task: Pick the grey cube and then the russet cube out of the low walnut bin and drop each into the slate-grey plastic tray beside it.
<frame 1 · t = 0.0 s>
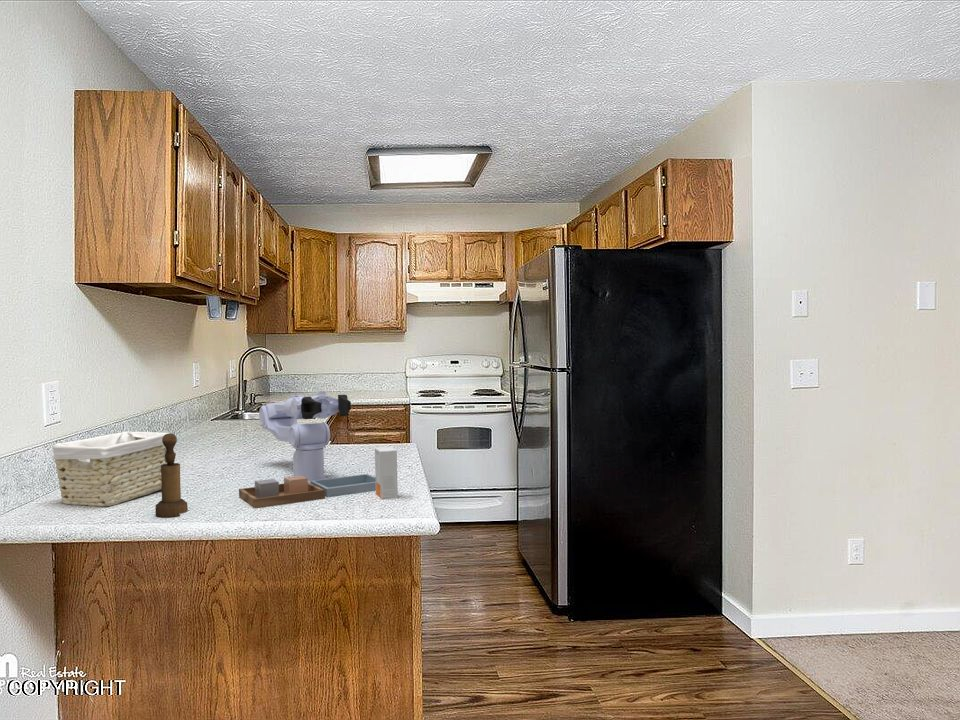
hand: (334, 406, 180), 22 cm above the counter, tool horizontal, fingers open, 7 cm apart
russet cube: (296, 495, 176), resting on walnut bin
slate tray: (348, 490, 183), on the counter
walnut bin: (281, 499, 174), on the counter
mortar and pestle: (171, 514, 162), on the counter
grey cube: (267, 499, 172), resting on walnut bin
skincare box: (386, 498, 175), on the counter
storage basket: (117, 497, 181), on the counter
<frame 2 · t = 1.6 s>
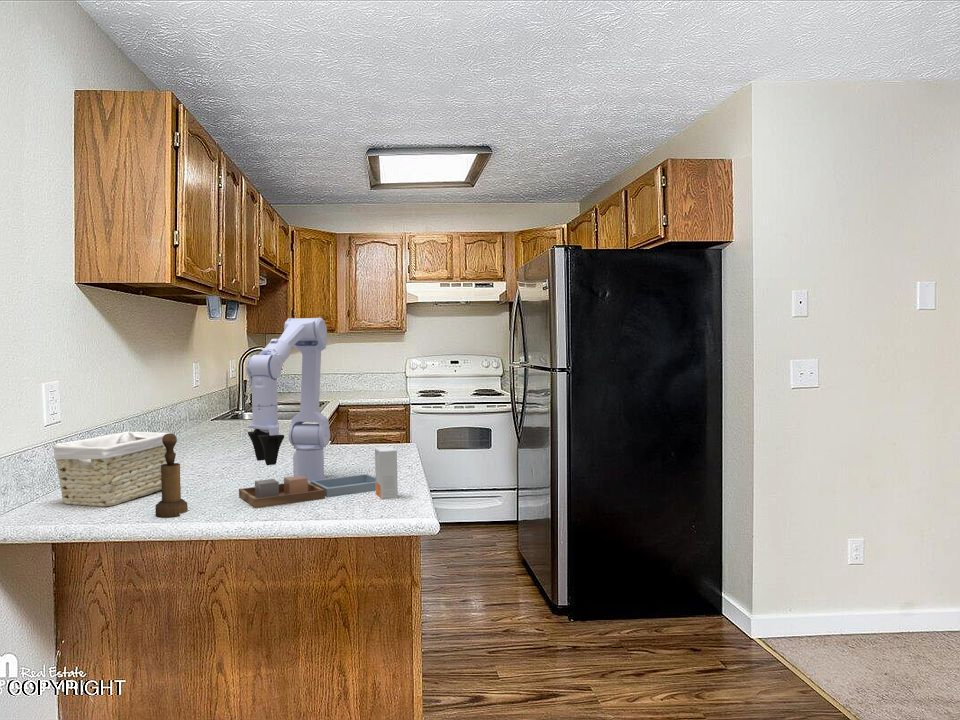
hand: (266, 462, 172), 9 cm above the counter, tool pointing down, fingers open, 7 cm apart
nothing on the counter moved.
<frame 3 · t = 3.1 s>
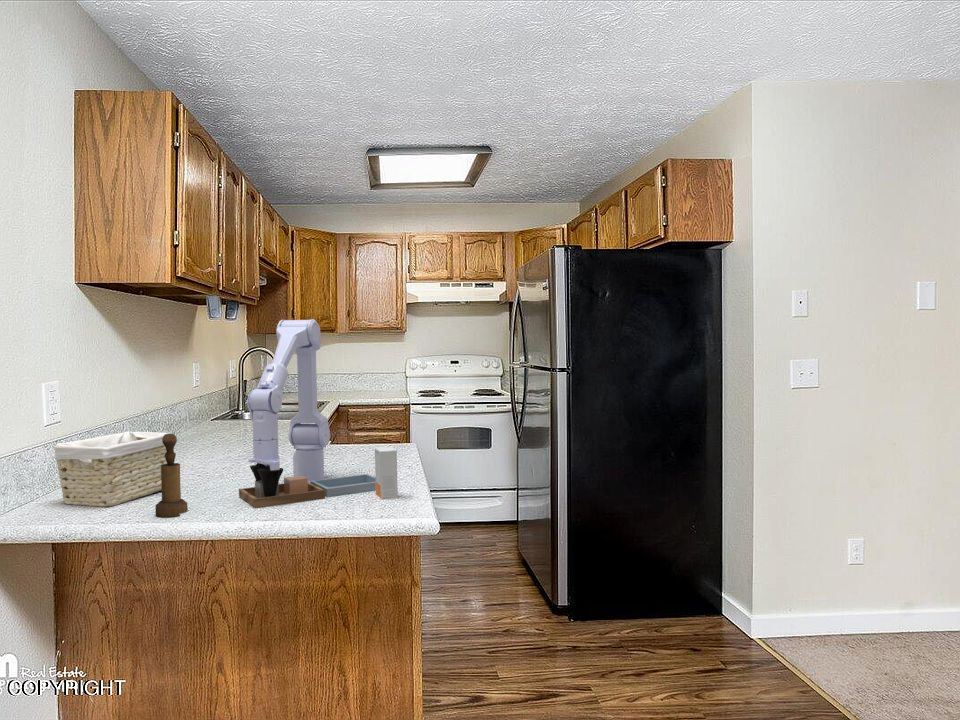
hand: (267, 496, 172), 1 cm above the counter, tool pointing down, fingers closed on grey cube, 4 cm apart
grey cube: (267, 499, 172), resting on walnut bin, touching gripper
everything else where it was.
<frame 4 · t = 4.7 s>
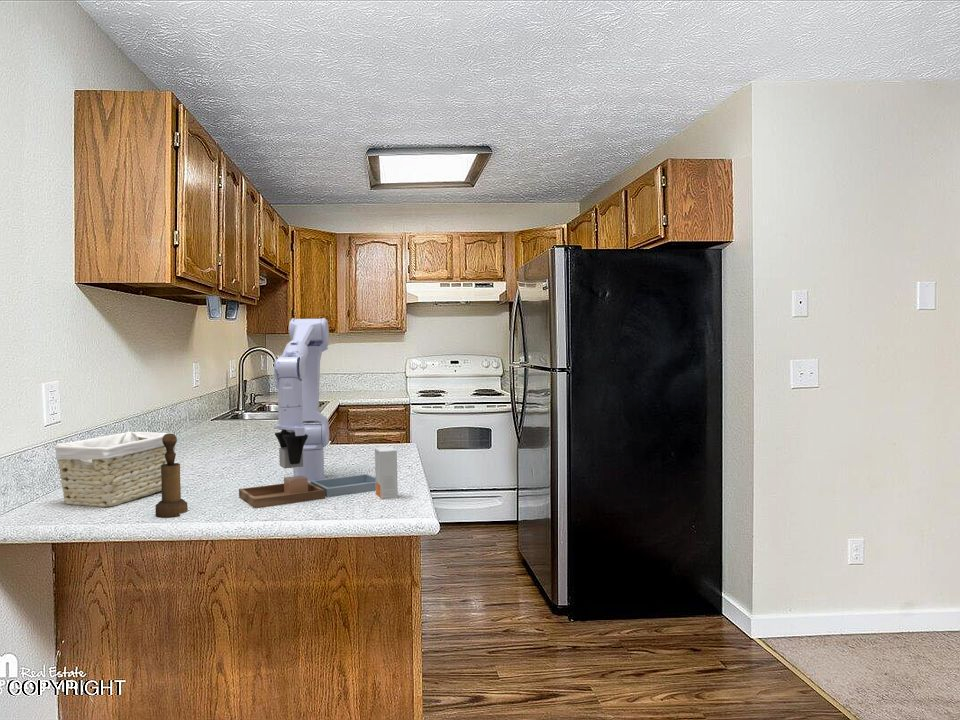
hand: (291, 462, 175), 9 cm above the counter, tool pointing down, fingers closed on grey cube, 4 cm apart
grey cube: (291, 466, 175), point 8 cm above the counter, touching gripper
when the fingers open (4 cm above the counter, at t = 6.5 s): grey cube drops 2 cm, resting on slate tray.
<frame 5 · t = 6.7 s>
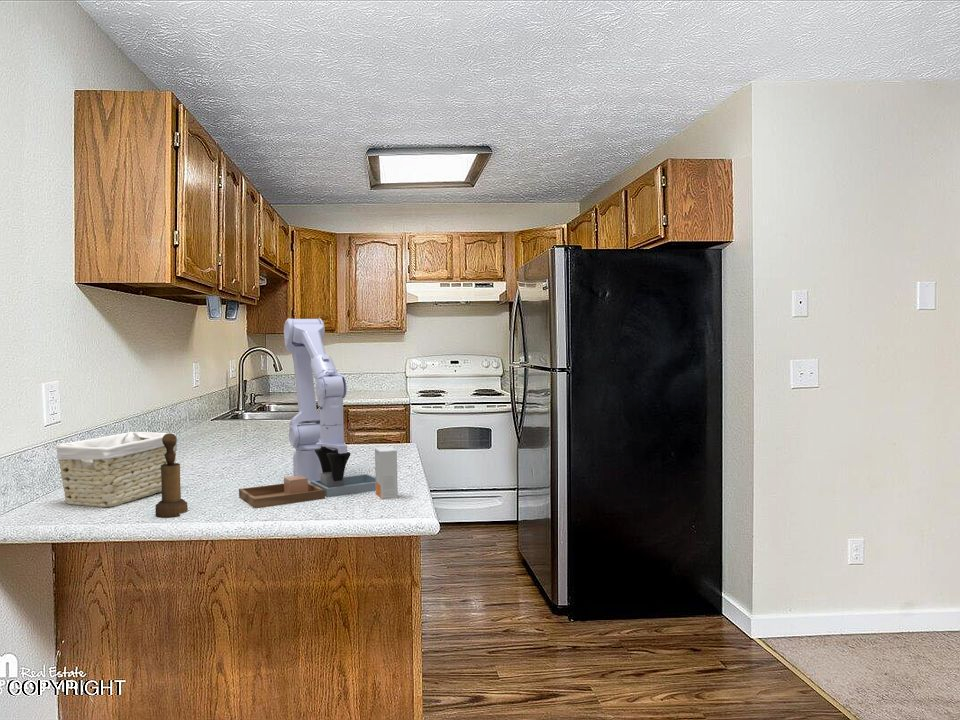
hand: (332, 478, 181), 4 cm above the counter, tool pointing down, fingers open, 6 cm apart
grey cube: (332, 491, 181), resting on slate tray
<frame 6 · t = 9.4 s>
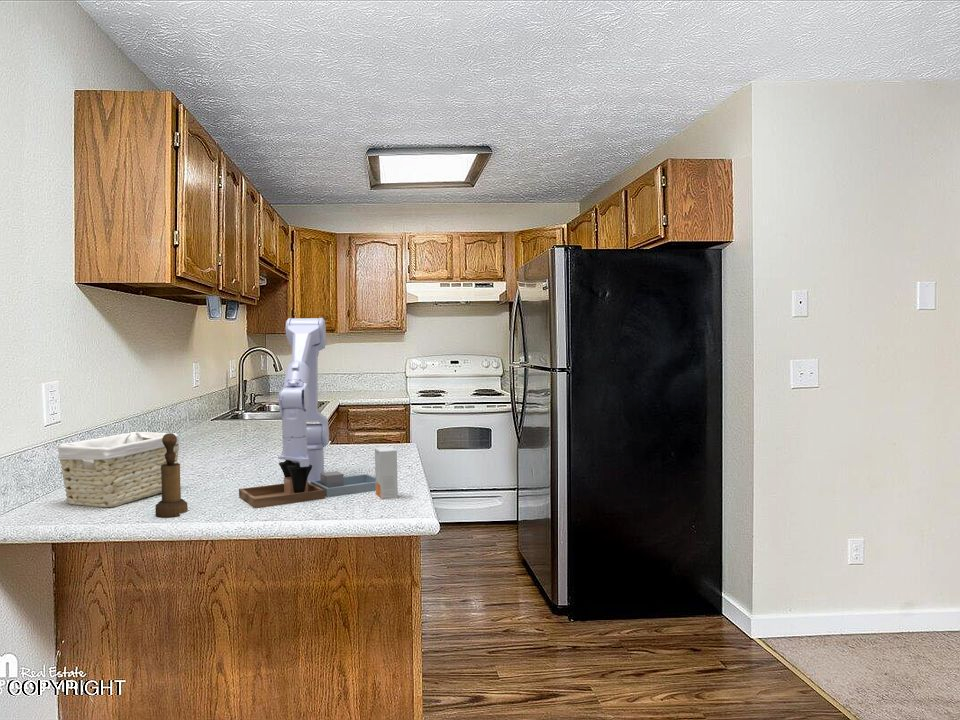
hand: (295, 492, 176), 1 cm above the counter, tool pointing down, fingers closed on russet cube, 4 cm apart
russet cube: (296, 495, 176), resting on walnut bin, touching gripper
when the fingers open (4 cm above the counter, at t = 12.9 s): russet cube drops 2 cm, resting on slate tray.
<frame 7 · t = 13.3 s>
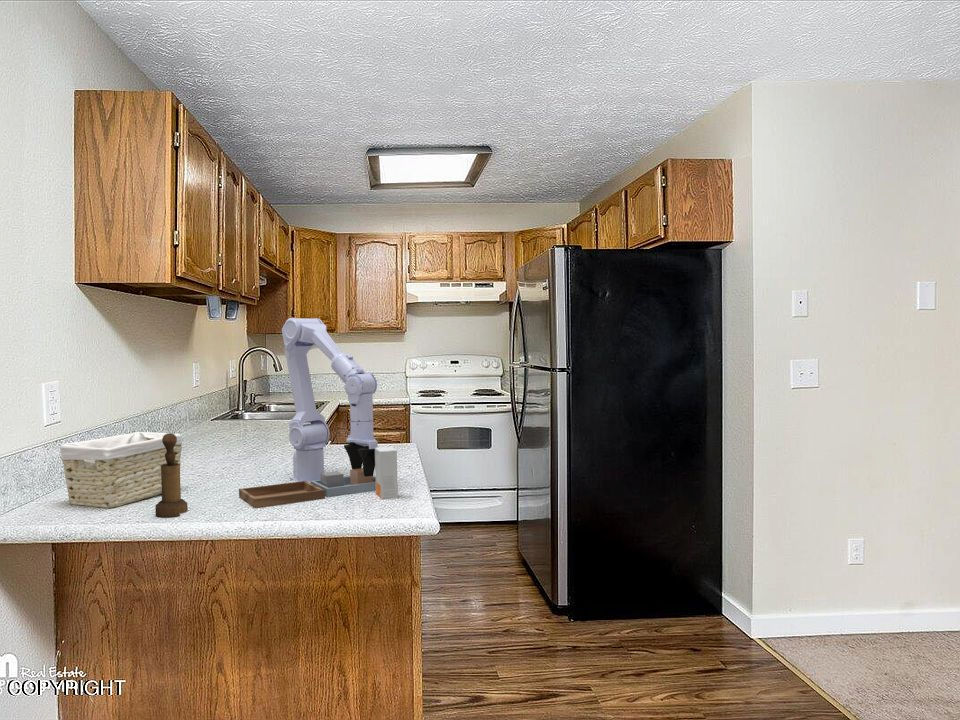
hand: (362, 473, 185), 4 cm above the counter, tool pointing down, fingers open, 7 cm apart
russet cube: (361, 487, 185), resting on slate tray
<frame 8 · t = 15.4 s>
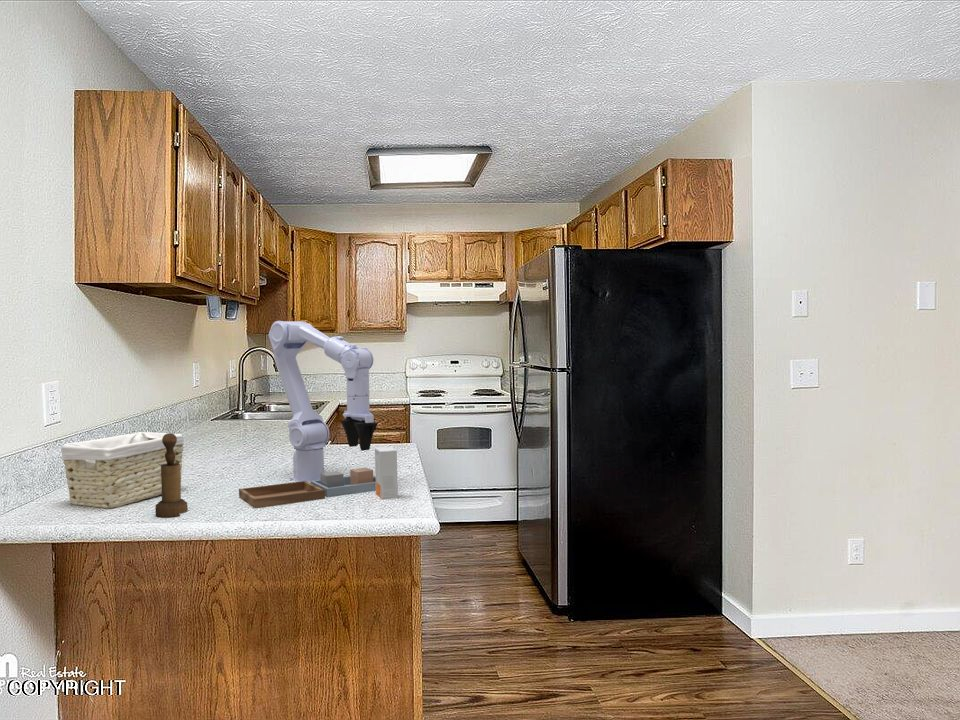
hand: (359, 448, 187), 10 cm above the counter, tool pointing down, fingers open, 7 cm apart
at the end: grey cube inside the target area on the slate tray (4.3 cm from its centre), point 0.5 cm above the slate tray's base; russet cube inside the target area on the slate tray (3.7 cm from its centre), point 0.5 cm above the slate tray's base; the gripper is holding nothing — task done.
